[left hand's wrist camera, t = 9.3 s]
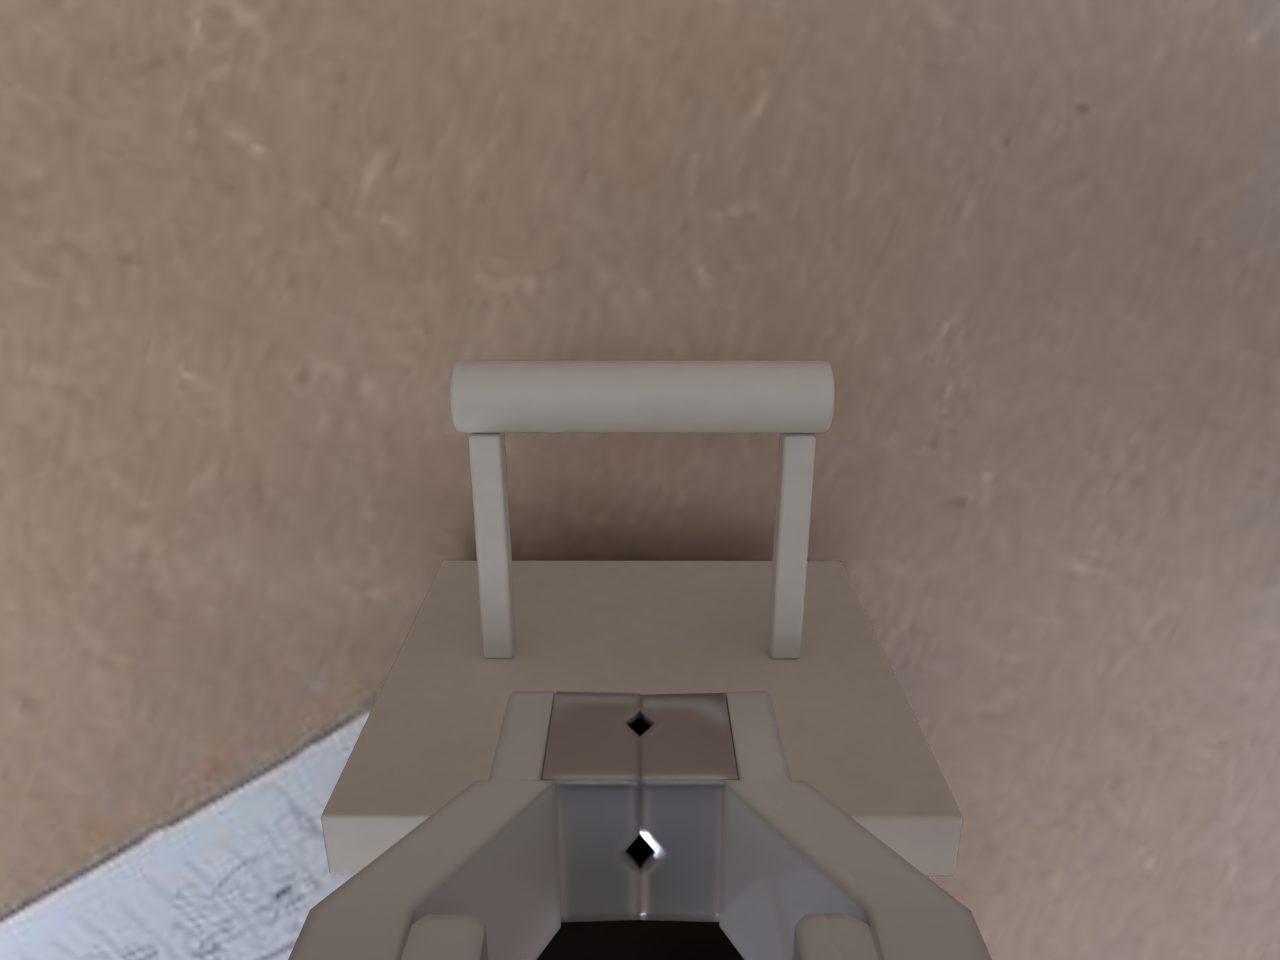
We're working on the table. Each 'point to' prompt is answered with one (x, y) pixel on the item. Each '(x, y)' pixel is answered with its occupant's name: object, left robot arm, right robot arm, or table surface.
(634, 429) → the drawer
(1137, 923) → the table surface
